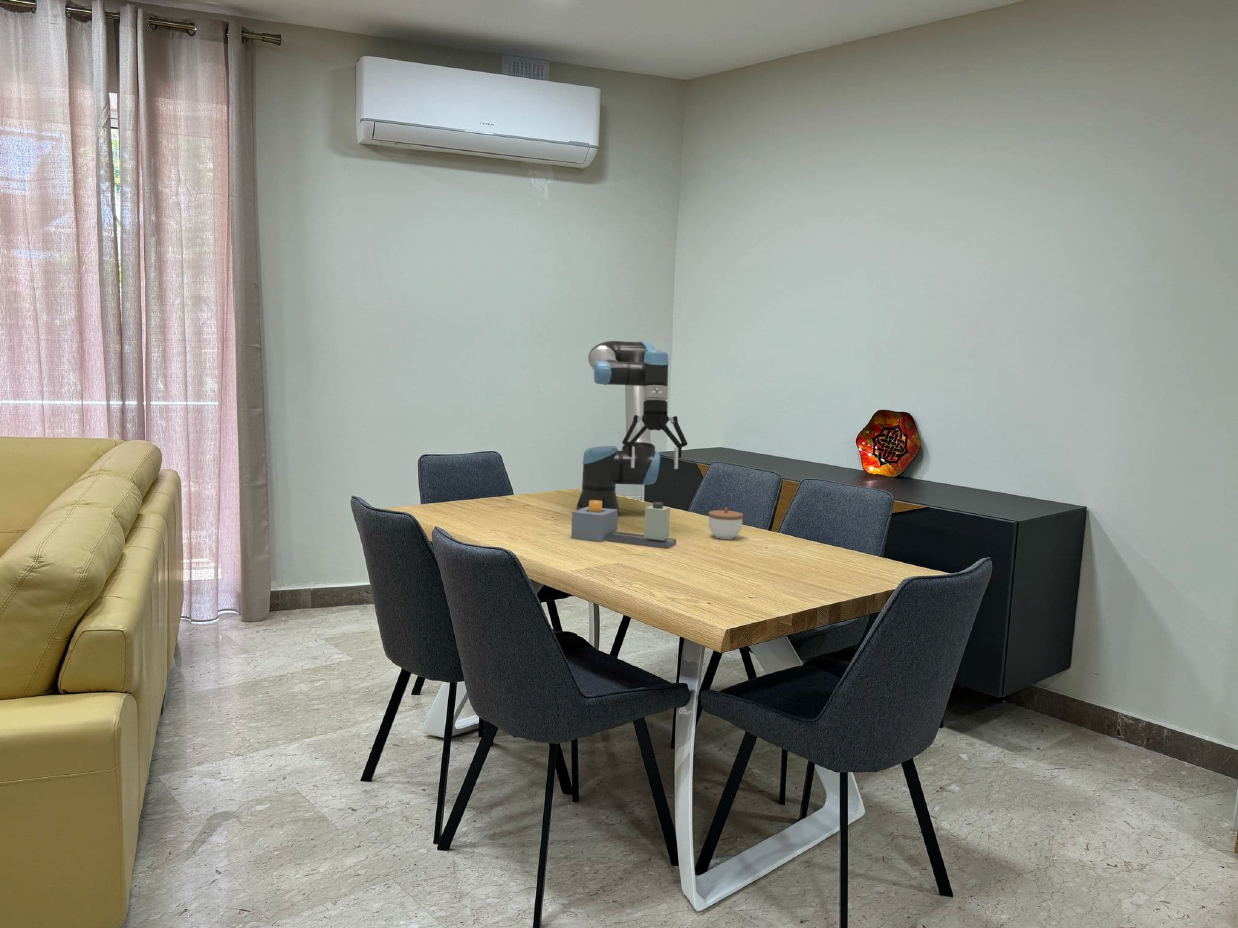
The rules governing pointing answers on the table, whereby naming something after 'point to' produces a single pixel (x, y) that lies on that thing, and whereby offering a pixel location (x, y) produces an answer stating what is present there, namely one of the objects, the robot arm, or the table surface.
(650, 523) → the carriage
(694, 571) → the table surface
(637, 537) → the rail board
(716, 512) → the lidded jar
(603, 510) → the grey block
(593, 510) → the button
